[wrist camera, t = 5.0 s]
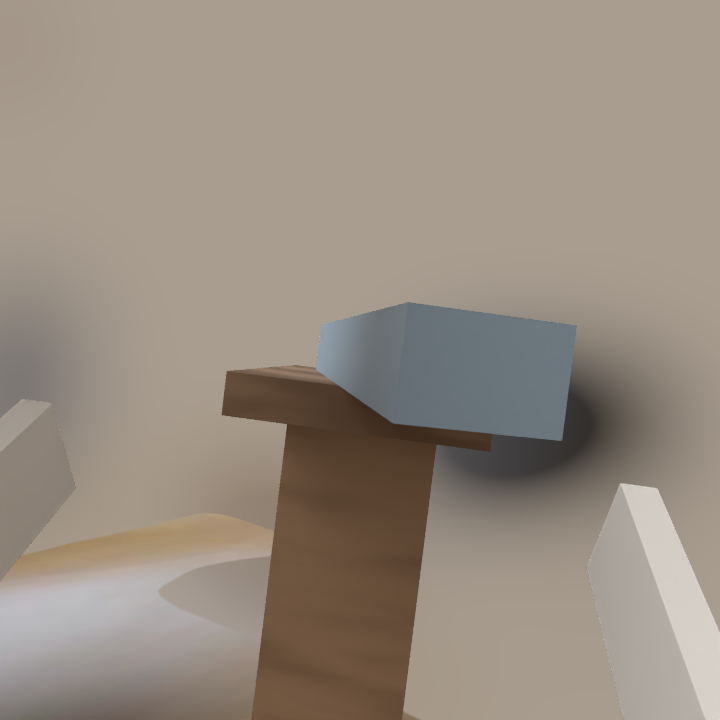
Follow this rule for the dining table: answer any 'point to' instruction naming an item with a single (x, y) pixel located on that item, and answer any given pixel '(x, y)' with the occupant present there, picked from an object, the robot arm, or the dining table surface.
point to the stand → (340, 546)
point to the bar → (453, 368)
